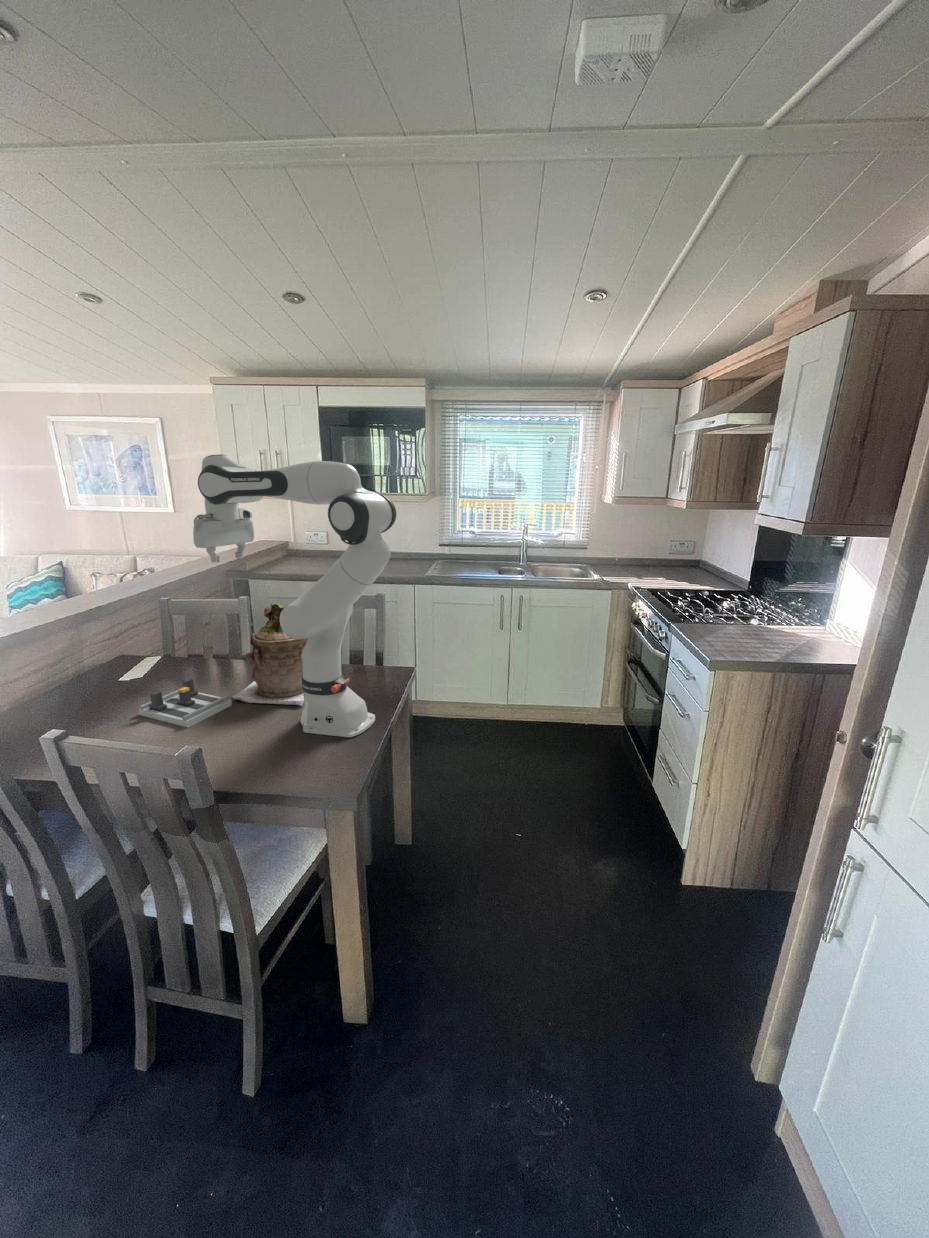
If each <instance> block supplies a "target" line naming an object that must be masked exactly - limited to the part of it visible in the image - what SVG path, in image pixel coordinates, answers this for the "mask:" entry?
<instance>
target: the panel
mask: <svg viewBox="0 0 929 1238" xmlns="http://www.w3.org/2000/svg"><path fill="white" fill-rule="evenodd" d="M162 699H163V704H166V705H167V708H164V709H162V710H158V709H154V708H150V707H149V704H152V703H151V701H149V702H145V703H144V704H141V705H139V709H138V712H139V715H140V716H142V717H146V718H150V719H153V720H157V721H161V722H164V723H169V724H172V725H176V726H181V727H185V728H190V727H192V726H194V725H196V724H198V723H200V722H202V721H204V720H206V719H209V718H210V717H212V716H214V715H216V714H218V713H220V712H222V711H224V710H225V709H228V708H231V707H232V706H233V701H232V699H231V698H230V695H224V696H223V697H221V696H217V695H213V694H207V693H203V692H200V691H198V694H196V695H193V696H191V700H195V703H194V704H191V705H189V706H188V705H184V704H180V703H177V700H179V699H180V697H179V690H178V689H177V690H174V691H172V692H170V693H167V694H165V695H162Z"/></svg>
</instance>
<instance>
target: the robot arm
mask: <svg viewBox="0 0 929 1238" xmlns="http://www.w3.org/2000/svg"><path fill="white" fill-rule="evenodd" d="M197 477H198V478H197V486H198V490H199V492H200V494H201V495H202V497H203V498H204V508H205V513H204V514H197V516H195V517H194V518H193V528H192V529H193V531H192V533H193V534H192V536H193V545H194V546H195V547H196V548H198V549H205V550H206V553H207V554H208V555H209V557H210V562H211V563H219V562H220V561H221V560H220V555H217V553H216V552H215V551H217V550H216V549H217V548H216V547H218V548H219V547H224V546H231V545H236V547H237V550H236V552H234V555H235V559H243V558H244V551H245V549H246V543H247V544H248V543H253V541H254V539H255V529H254V523H253V520H252V518H253V512H252V511H250V510H248V509H246V508H243V507H241V506H239V504H245V503H246V504H247V503H248V504H250V503H251V504H252V503H255V502H260V500H262V499H263V497H265V498H266V497H267V498H274V499H281V500H286V501H292V502H298V503H303V504H310V505H328V509H327V518H328V521H329V524H330V526H331V528H332V529H333V530H334V532H335V533H336V534H337V535H338V536H339V538H340V540H341V542H343V543H345V544H347V545H348V547H347V548H346V549H345V550H344V551H343V553H342V554H341V555H340V557H339V558H337V560H336V561H335V562H334V563H333V565H332V566H330V568H329V569H328V570H327V572H326V573H325V574H324V575H322V577H321V578H320V579H318V580H316V581H315V583H313V584H312V585H310V587H308V588H307V589H306V590H305V591H304V592H303V593H302V594H301V595H299V596H298V597H297V598H296V599H295V600H294V601H292V602H291V603H290V604H288V605H287V607H285V608H284V609H283V610H282V612H281V614H280V625H281V628H282V630H283V631H284V633H285V634H286V635H287V636H289V637H290V638H293V639H305V638H308V641H307V643H306V645H305V647H304V648H303V651H302V655H301V656H302V670H303V676H302V690H303V691H304V702H303V706H302V713H301V716H300V720H299V721H300V724H301V726H302V732H303V733H306V734H316V735H323V736H324V735H325V736H332V737H333V736H334V737H341V738H353V737H356V736H358V735H361V734H362V733H364V732H365V731H366V730H368V729H369V728H370V727H372V725H374V723H375V721H376V714H373V713H371V712H368V707H367V704H366V701H365V700H364V699H363V698H362V697H361V696H359V695H358V694H357V693H356V692H354V691H353V690H352V689H351V688H350V687H349V686H348V683H350V679H351V678H350V677H348V678H346V679H345V676H344V673H343V672H342V654H341V653H342V644H343V640H344V636H345V630H346V626H347V623H348V621H349V619H350V617H351V616H352V614H353V612H354V604H355V603H356V602H357V601H358V600H359V598H360V597H362V595H364V593H365V592H366V591H367V590H368V589H369V588H370V587H371V586H372V584H374V583H375V581H376V580H377V579H378V578H379V576H380V575H381V574H382V572H383V571H384V569H385V568H386V566H387V565H388V562H389V561H390V558H391V549H390V547H389V544H388V543H387V542H386V540H384V539H383V536H382V534H383V533H385V532H387V531H388V530H390V528H392V527H393V526H394V524H395V522H396V519H397V509H396V506H395V504H394V503H393V501H391V499H389V498H388V497H387V496H385V495H384V494H382V493H380V492H378V491H377V490H374V488H372V487H367V488H364V487H363V486H362V481H361V476H360V474H359V472H358V471H357V469H356V468H355V467H354V466H353V465H351V464H348V463H344V462H339V461H331V460H330V461H329V460H328V461H326V460H323V461H322V460H319V461H317V460H316V461H308V462H302V463H301V462H300V463H297V464H292V465H286V466H282V467H278V468H277V467H276V468H272V469H267V470H256V469H252V468H250V467H247V466H244V465H243V464H240V463H239V462H237V461H236V460H234V458H233V457H232V456H230V455H228V454H212V455H211V454H210V455H206V456H205V457H204V458H203V459H202V463H201V472H200V473H199V475H198V476H197Z"/></svg>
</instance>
